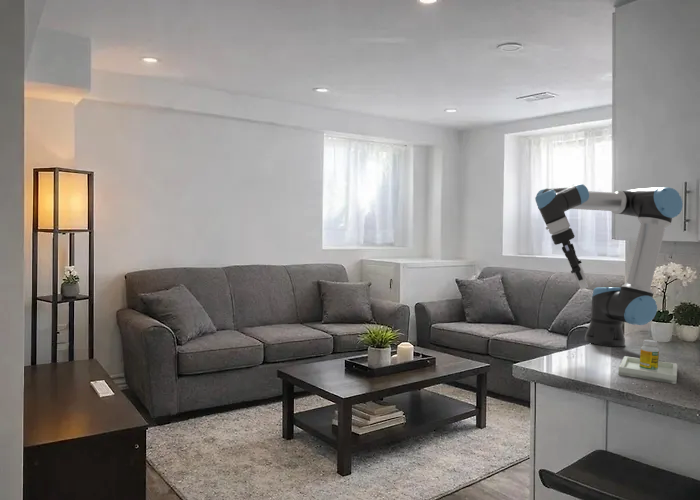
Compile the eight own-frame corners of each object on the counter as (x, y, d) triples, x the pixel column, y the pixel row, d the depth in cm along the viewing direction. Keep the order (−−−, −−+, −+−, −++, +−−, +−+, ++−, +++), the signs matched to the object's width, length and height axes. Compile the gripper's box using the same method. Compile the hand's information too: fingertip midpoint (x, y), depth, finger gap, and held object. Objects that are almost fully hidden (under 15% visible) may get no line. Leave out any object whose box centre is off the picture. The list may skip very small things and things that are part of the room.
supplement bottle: (644, 367, 190) (647, 338, 190) (660, 371, 186) (663, 341, 185) (635, 368, 187) (638, 339, 187) (652, 372, 183) (654, 342, 182)
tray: (623, 363, 199) (624, 356, 199) (676, 371, 191) (677, 363, 191) (618, 374, 182) (619, 366, 182) (676, 384, 174) (676, 375, 174)
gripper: (551, 231, 222) (573, 282, 221) (549, 239, 199) (574, 295, 198) (570, 224, 219) (593, 275, 218) (570, 230, 196) (596, 287, 195)
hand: (584, 284), depth 208 cm, fingers open, 13 cm apart
